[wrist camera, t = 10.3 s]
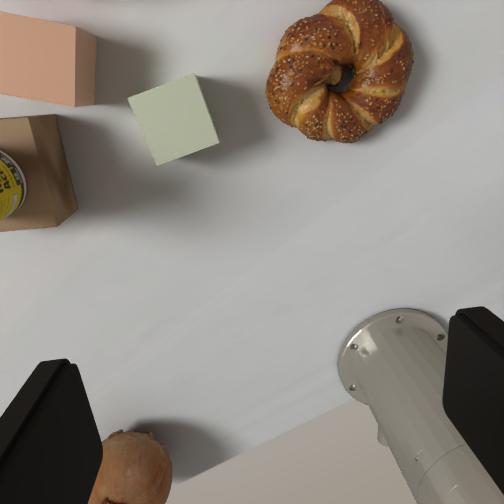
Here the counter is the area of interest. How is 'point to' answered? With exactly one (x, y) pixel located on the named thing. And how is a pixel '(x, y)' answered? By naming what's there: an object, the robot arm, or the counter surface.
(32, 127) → the walnut block
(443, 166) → the counter surface
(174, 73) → the counter surface
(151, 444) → the onion
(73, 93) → the terracotta block
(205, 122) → the sage block
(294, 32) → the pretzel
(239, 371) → the counter surface
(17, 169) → the supplement bottle
